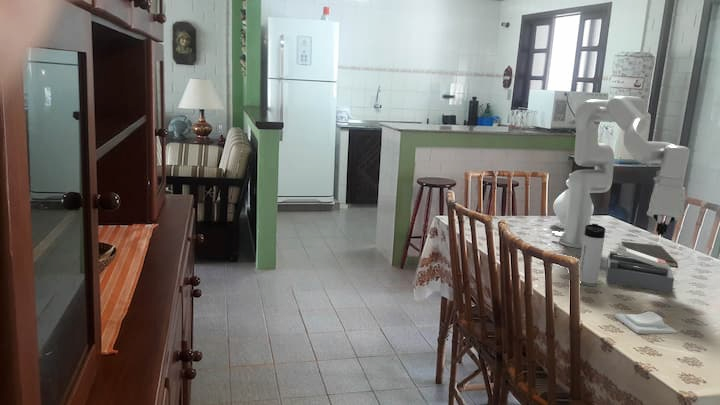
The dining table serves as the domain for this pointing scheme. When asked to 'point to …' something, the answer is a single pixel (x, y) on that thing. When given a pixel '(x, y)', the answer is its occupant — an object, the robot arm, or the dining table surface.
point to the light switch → (645, 323)
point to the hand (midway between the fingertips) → (660, 234)
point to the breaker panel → (638, 273)
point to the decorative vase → (563, 207)
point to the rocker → (641, 256)
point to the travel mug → (591, 254)
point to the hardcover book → (651, 251)
